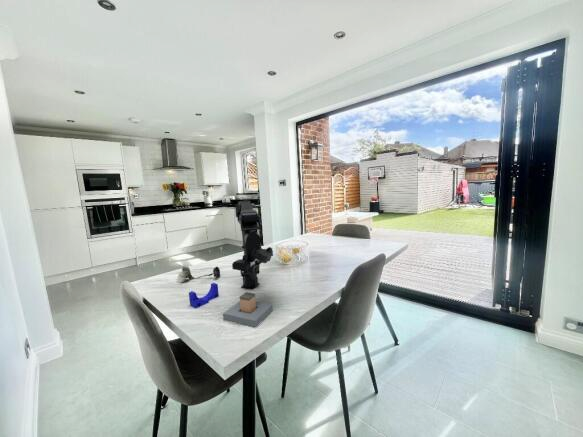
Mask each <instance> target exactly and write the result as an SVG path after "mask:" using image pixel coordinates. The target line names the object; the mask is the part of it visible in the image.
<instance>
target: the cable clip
mask: <svg viewBox="0 0 583 437" xmlns="http://www.w3.org/2000/svg"><path fill="white" fill-rule="evenodd" d="M219 296H220V295H219V285H218V283H216V282H211V283H210V288H209V290H208V291H207V293H206V294H205V295H203V296H202V297H198V295H197V292H195V291H193V290H192V291H189V292H188V298H189V299H188V300H189V306H190V307H192V308H194V309H198V308H200V307H203V306H205V305H207V304H209V303H210V301H211V300H213V299H216V298H218V297H219Z"/></svg>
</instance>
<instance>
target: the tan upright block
mask: <svg viewBox="0 0 583 437" xmlns="http://www.w3.org/2000/svg"><path fill="white" fill-rule="evenodd" d="M239 301H240V306H241V312H244V313H249V314H250V313H252V312H253V311H254V310H255V309H256V303H255V301H256V293H253V292H247V291H246V292H244V293H242V295H241V294H240V296H239Z"/></svg>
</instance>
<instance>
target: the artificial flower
mask: <svg viewBox="0 0 583 437" xmlns="http://www.w3.org/2000/svg"><path fill="white" fill-rule="evenodd" d="M211 276H213V277H214V278H216V280H218V279H220V278H221V270H220V268H219V267H218V266H216V267H214V268H213V270H212V273H210V274H204V275H202V276H198V277H194V276H192V272H191V269H190V267H189V266H183V267H181V272H180V273H179V274H178V276H177V278H178V279H177V280H176V284H181V283H185V281H186V279H188V280H197V279H200V278H203V277H211Z"/></svg>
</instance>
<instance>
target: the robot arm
mask: <svg viewBox="0 0 583 437" xmlns="http://www.w3.org/2000/svg"><path fill="white" fill-rule="evenodd" d="M234 211H235V218H237V223H239V225H240V232H241V237H242V245H241V248H242V249H243V255H242V258H241V259H236V260H235V261H233V262H232V263H231V264H232V270H234V271H235V270H236V271H240V277H242V285H241V288H242V289H247V290H248V289H249V290H253V289H255V288H256V287H258V286H259V285H260V283H259V276H258V275H260V265H261V264H267V263H268V262H270V261H271V259H272V257H273V256H274V254H273V253H274V250H273V247H270V246H269V247H267V248H262V242H263V241H262V240H263V239H262V237H261V235H260V234H259V232H258V230H262V227H263V223H262V217H261V215H260V213H258V211H257V210H255V209H254V206H253V204H251V200H240V201H239V202H238V204H237V205H236V206H235V209H234Z"/></svg>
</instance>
